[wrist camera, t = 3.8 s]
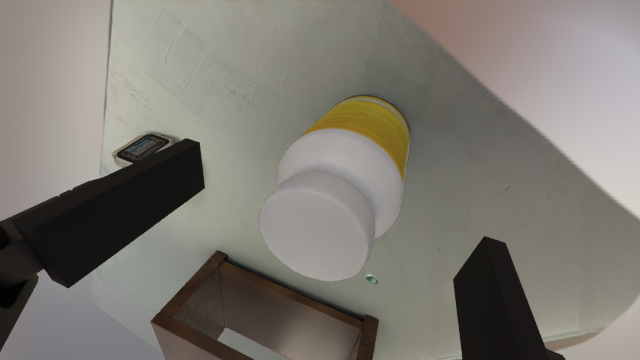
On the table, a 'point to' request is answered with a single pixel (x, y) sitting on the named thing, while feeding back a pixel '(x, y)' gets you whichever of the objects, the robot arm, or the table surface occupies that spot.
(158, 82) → the table surface
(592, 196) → the table surface
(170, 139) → the wristwatch
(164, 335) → the shelf
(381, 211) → the pill bottle
